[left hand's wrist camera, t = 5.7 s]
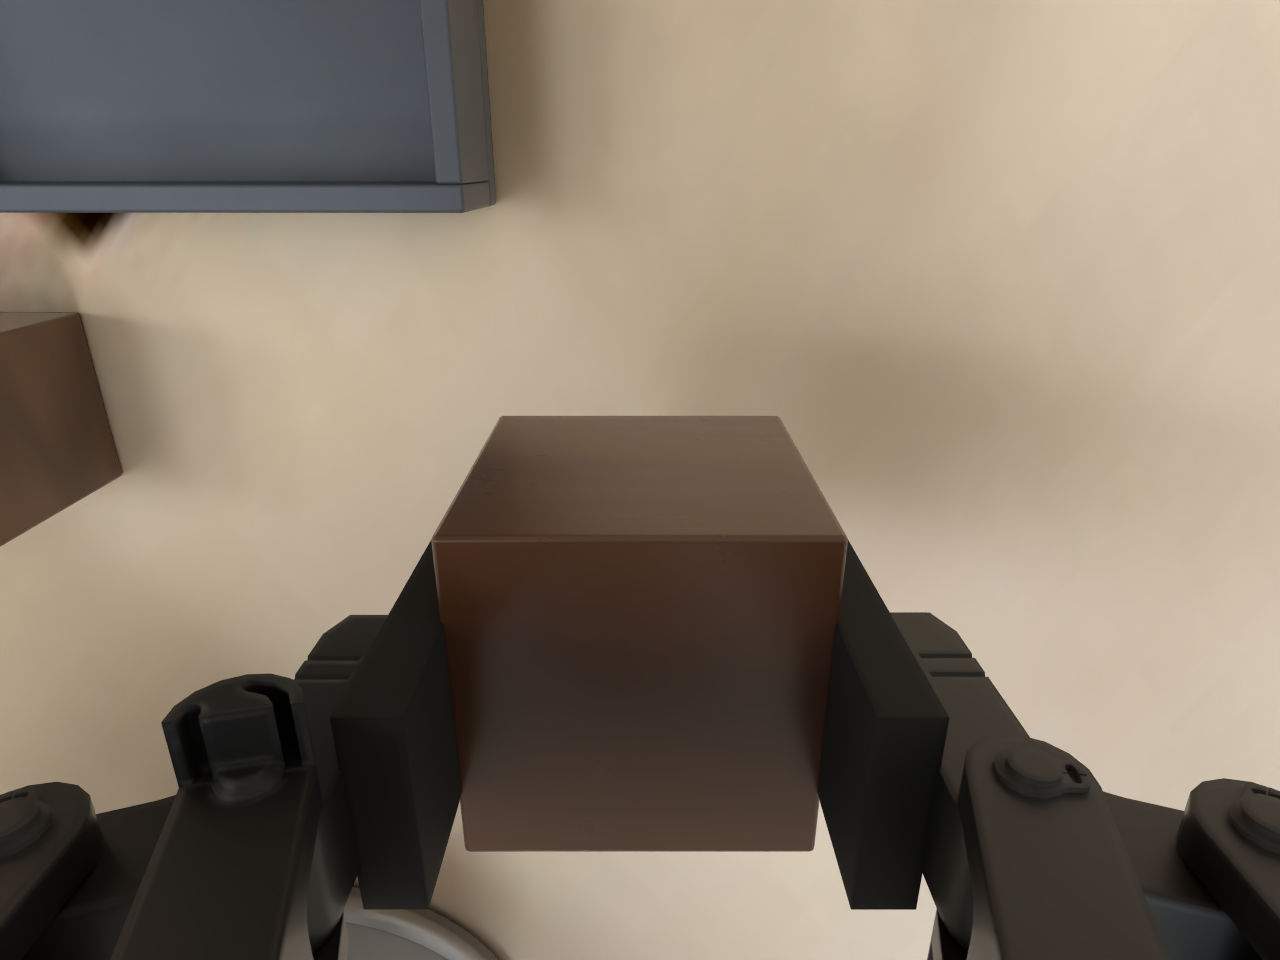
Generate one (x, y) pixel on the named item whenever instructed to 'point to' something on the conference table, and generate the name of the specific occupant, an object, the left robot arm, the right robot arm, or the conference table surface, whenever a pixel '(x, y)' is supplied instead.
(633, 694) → the cube
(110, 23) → the tray
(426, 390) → the conference table surface
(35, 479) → the cube
